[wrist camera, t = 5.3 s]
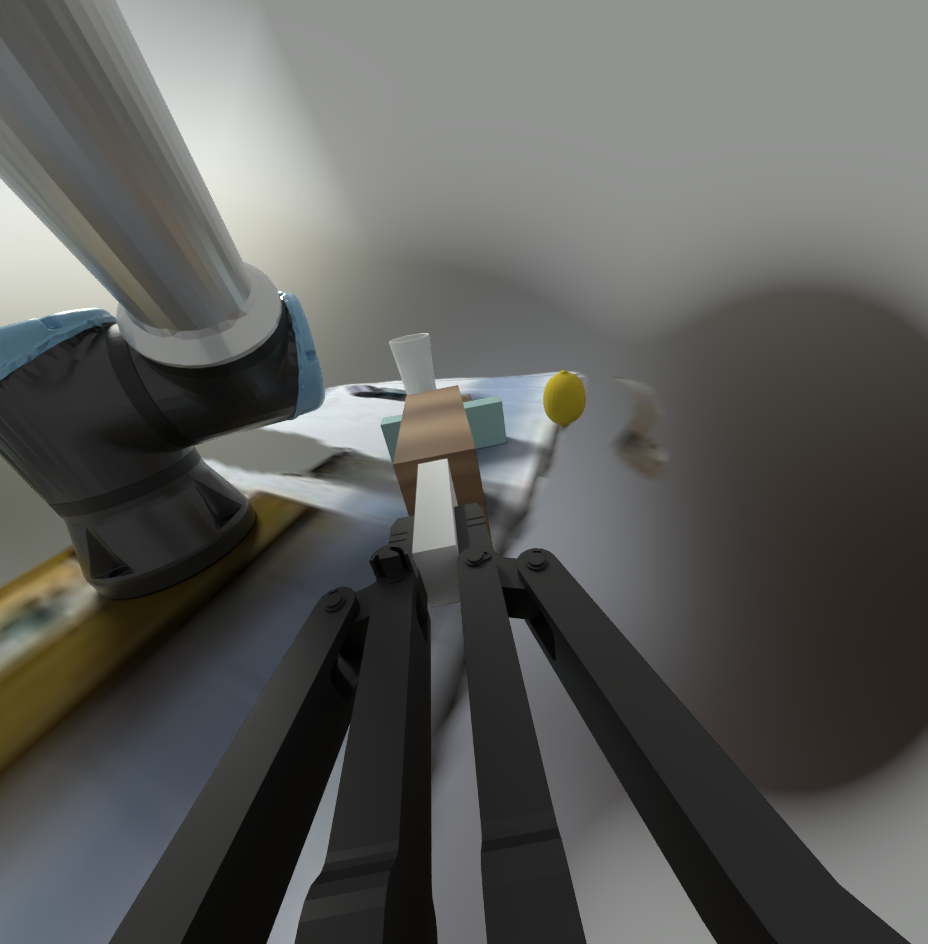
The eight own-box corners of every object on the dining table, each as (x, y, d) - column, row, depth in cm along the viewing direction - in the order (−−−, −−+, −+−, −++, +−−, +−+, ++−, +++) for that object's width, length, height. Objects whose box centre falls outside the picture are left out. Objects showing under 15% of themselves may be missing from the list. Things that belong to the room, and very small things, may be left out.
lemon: (541, 434, 47) (537, 377, 43) (548, 418, 51) (546, 365, 47) (583, 435, 45) (583, 375, 41) (587, 418, 49) (588, 362, 45)
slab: (499, 586, 26) (475, 448, 20) (435, 598, 26) (392, 464, 20) (476, 489, 38) (458, 385, 32) (433, 497, 38) (406, 395, 32)
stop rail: (506, 442, 47) (501, 401, 44) (393, 464, 47) (380, 424, 44) (503, 435, 49) (498, 395, 46) (394, 456, 49) (382, 418, 46)
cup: (448, 391, 73) (437, 332, 67) (422, 404, 68) (407, 342, 62) (422, 389, 78) (409, 334, 72) (397, 401, 73) (380, 343, 67)
